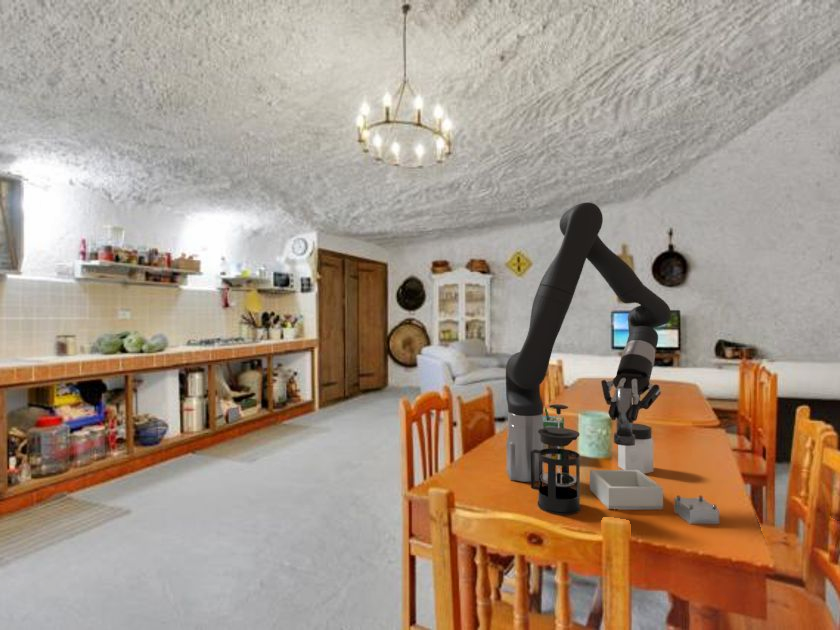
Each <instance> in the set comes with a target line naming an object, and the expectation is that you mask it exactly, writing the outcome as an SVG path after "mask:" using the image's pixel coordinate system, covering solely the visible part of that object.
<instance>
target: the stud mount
mask: <svg viewBox="0 0 840 630" xmlns="http://www.w3.org/2000/svg"><path fill="white" fill-rule="evenodd" d="M673 499H674V501H673V502H674V503H673V504H674V509H673V510H674V511H673V512H674V513H675V514H677V516H680V518H681V519H683V520H684V521H686V522H687V523H688V524H689V525H718V524H719V525H720V509H719V508H717V505H716V504H711V503H710V502H708V501H707V500H706V499H704V496H703V495H701V494H700V495H698V497H682V496H681V495H680V494H679V495H676V497H674V498H673Z"/></svg>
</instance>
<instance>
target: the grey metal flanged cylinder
mask: <svg viewBox="0 0 840 630" xmlns="http://www.w3.org/2000/svg"><path fill="white" fill-rule="evenodd" d="M615 390H616V420H615V421H616V422H615V423H616V425H615V427H616V432H614V433H613V444H615V445H617V446H618V445H623V446H633V445H635V435H634V434H632V423H630V422H629V420H628V415H629V411H630V407H631V405H633V398H632V388H630V387H616V388H615Z"/></svg>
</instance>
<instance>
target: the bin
mask: <svg viewBox="0 0 840 630" xmlns="http://www.w3.org/2000/svg"><path fill="white" fill-rule="evenodd" d="M589 490H590V491H591V492H592V493H593V494H594V495H595V497H596V498H597V499H598V500H599V501H600V502H601V503H602V504H603V506H605V508H606V509H608V510H609V509H614V510H615V509H618V510H620V511H622V510H625V511H628V510H630V511H631V510H633V511H634V510H635V511H636V510H637V511H638V510H641V511H643V510H646V511H647V510H648V511H649V510H650V511H651V510H653V511H656V510H657V511H658V510H661V511H662V510H664V487H663V486H661V485H659V483H656V482H655V481H654V480H653V479H651V478H650V477H648V476H647V475H646V474H643V473H642V472H640V471H639V470H623V469H589ZM614 510H613V511H614ZM618 510H617V511H618Z"/></svg>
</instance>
